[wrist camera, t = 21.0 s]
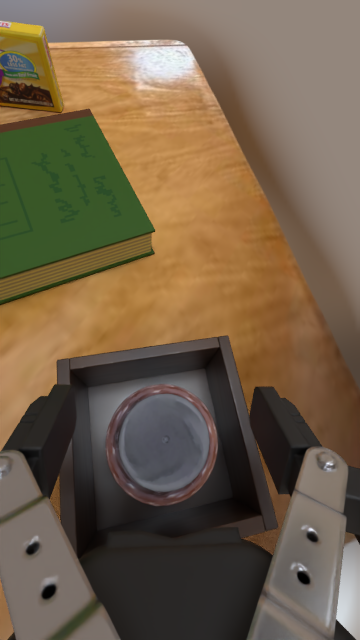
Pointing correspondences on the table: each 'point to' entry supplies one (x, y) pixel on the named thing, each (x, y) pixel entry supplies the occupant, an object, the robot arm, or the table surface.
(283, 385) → the table surface
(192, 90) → the table surface
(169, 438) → the supplement bottle
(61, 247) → the hardcover book
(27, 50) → the candy box
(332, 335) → the table surface
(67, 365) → the holder
